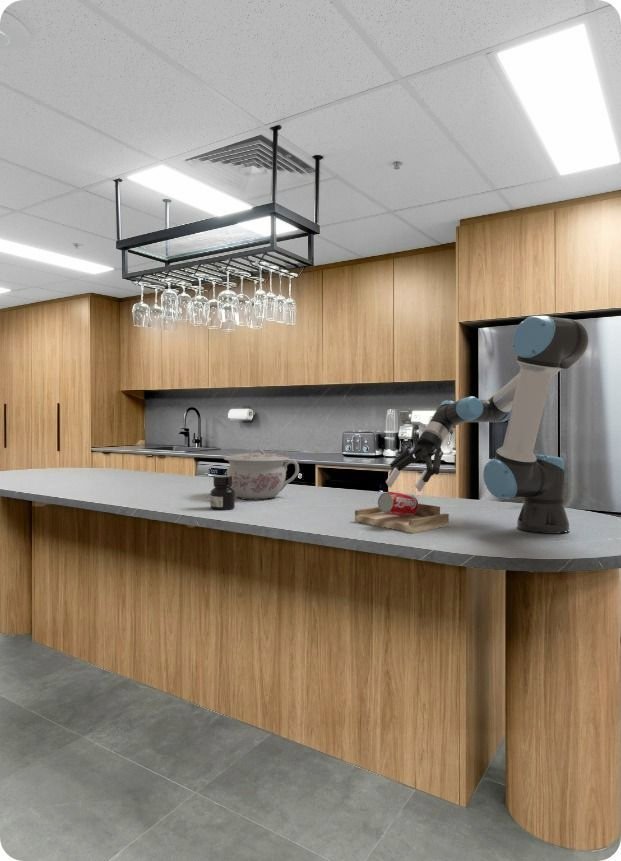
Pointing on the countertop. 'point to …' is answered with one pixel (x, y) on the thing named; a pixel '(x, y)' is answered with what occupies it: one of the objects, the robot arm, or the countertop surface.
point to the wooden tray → (405, 519)
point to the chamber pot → (259, 474)
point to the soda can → (398, 504)
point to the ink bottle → (222, 493)
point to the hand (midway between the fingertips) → (402, 486)
